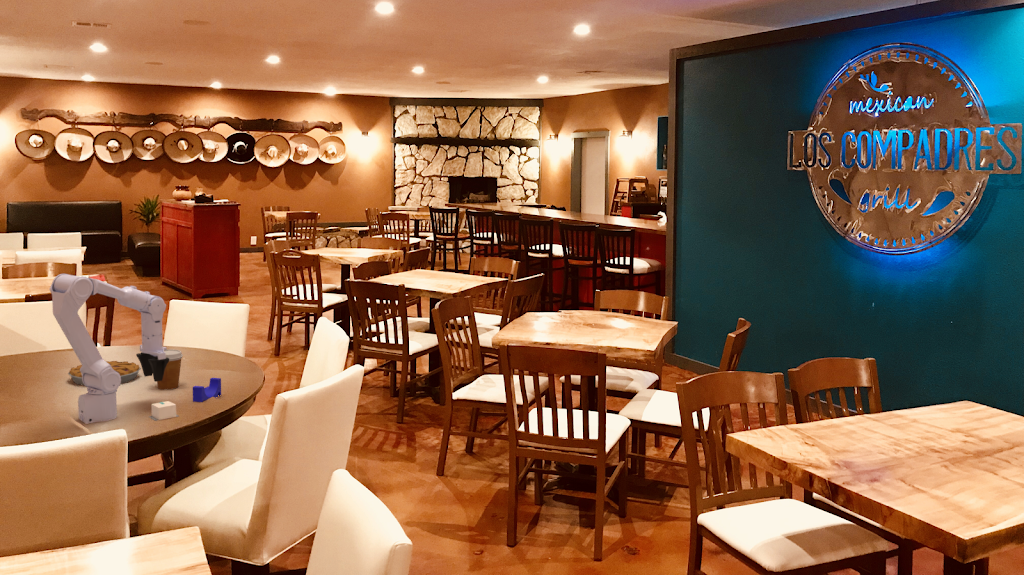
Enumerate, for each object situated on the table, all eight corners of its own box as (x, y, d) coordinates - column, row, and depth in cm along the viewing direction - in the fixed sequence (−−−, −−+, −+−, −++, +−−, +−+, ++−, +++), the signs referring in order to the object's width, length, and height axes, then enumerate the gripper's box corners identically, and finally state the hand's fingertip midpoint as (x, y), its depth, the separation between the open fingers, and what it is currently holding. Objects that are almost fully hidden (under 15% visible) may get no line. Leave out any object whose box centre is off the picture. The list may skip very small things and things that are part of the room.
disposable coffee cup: (164, 382, 274) (163, 348, 273) (189, 384, 272) (188, 350, 271) (146, 389, 265) (145, 354, 263) (172, 392, 263) (171, 356, 262)
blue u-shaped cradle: (208, 395, 262) (207, 377, 261) (221, 396, 261) (220, 378, 260) (188, 405, 250) (188, 386, 249) (202, 406, 249) (201, 387, 249)
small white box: (176, 416, 234) (175, 404, 233) (159, 420, 230) (158, 407, 230) (168, 412, 237) (168, 400, 237) (151, 416, 234) (151, 403, 233)
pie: (105, 390, 262) (104, 376, 262) (53, 383, 269) (53, 368, 269) (154, 376, 283) (154, 362, 282) (105, 369, 290) (105, 355, 289)
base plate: (155, 424, 230) (155, 420, 230) (148, 420, 233) (148, 416, 233) (179, 420, 235) (179, 416, 235) (172, 416, 238) (172, 412, 238)
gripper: (175, 336, 240) (176, 381, 242) (155, 329, 250) (156, 371, 252) (151, 339, 235) (152, 384, 237) (132, 331, 245) (133, 375, 247)
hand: (153, 378), depth 244 cm, fingers open, 7 cm apart
